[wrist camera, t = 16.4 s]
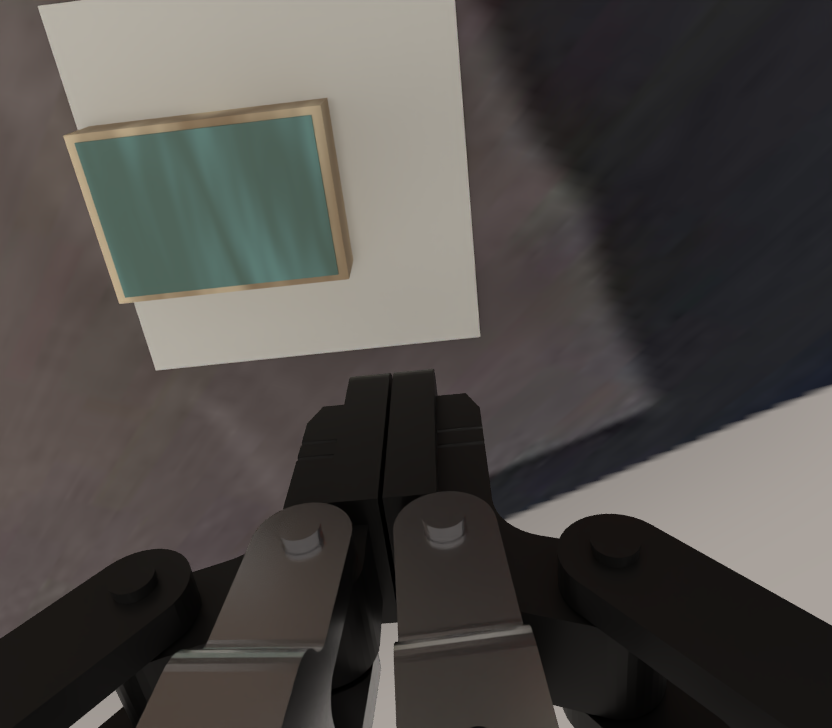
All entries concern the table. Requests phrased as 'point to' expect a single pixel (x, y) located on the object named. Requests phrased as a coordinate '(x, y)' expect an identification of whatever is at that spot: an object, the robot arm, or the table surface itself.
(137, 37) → the mat
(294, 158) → the slab
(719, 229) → the table surface
